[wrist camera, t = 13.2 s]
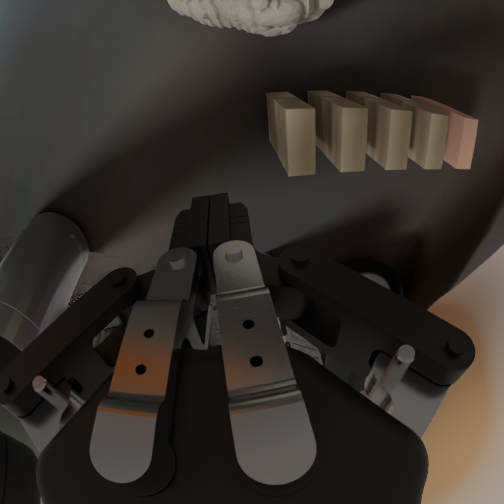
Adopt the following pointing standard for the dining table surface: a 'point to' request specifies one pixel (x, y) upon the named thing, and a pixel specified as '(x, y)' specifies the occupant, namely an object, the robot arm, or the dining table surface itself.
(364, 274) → the portable speaker
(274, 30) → the fossil replica
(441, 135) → the tile
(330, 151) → the tile
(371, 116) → the tile
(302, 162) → the tile
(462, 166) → the tile
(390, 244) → the dining table surface
